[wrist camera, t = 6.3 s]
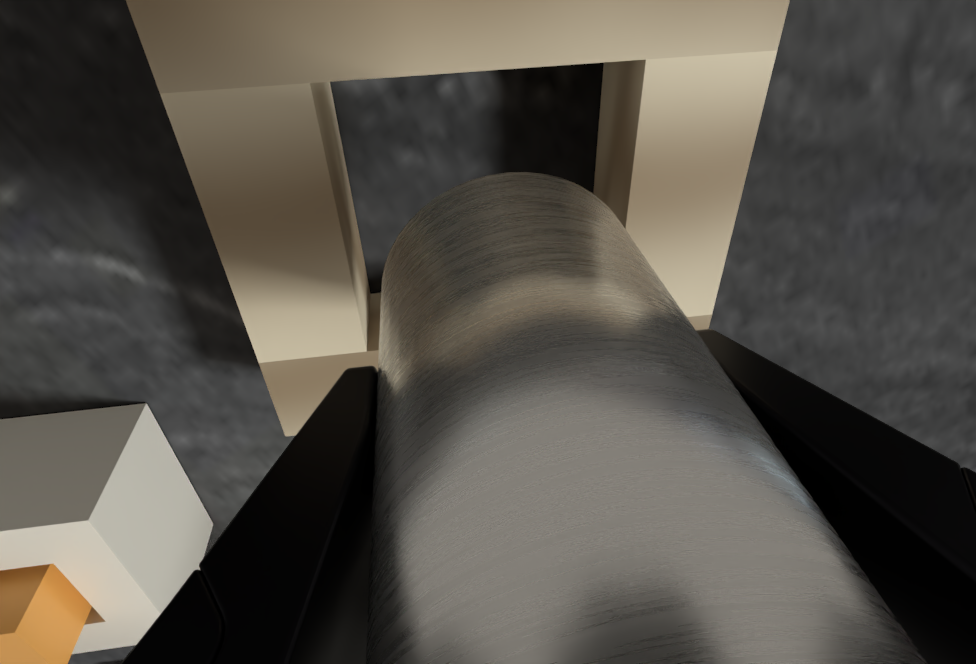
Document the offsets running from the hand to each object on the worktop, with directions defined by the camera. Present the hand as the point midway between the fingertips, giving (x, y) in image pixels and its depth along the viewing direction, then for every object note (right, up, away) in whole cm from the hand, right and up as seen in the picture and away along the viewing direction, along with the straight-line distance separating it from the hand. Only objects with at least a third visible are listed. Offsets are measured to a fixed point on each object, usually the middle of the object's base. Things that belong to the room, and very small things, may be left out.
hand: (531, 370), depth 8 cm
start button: (-13, -6, +8) cm, 16 cm away
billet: (0, +1, +2) cm, 2 cm away
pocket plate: (-1, +4, +6) cm, 7 cm away
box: (-14, -4, +10) cm, 17 cm away
